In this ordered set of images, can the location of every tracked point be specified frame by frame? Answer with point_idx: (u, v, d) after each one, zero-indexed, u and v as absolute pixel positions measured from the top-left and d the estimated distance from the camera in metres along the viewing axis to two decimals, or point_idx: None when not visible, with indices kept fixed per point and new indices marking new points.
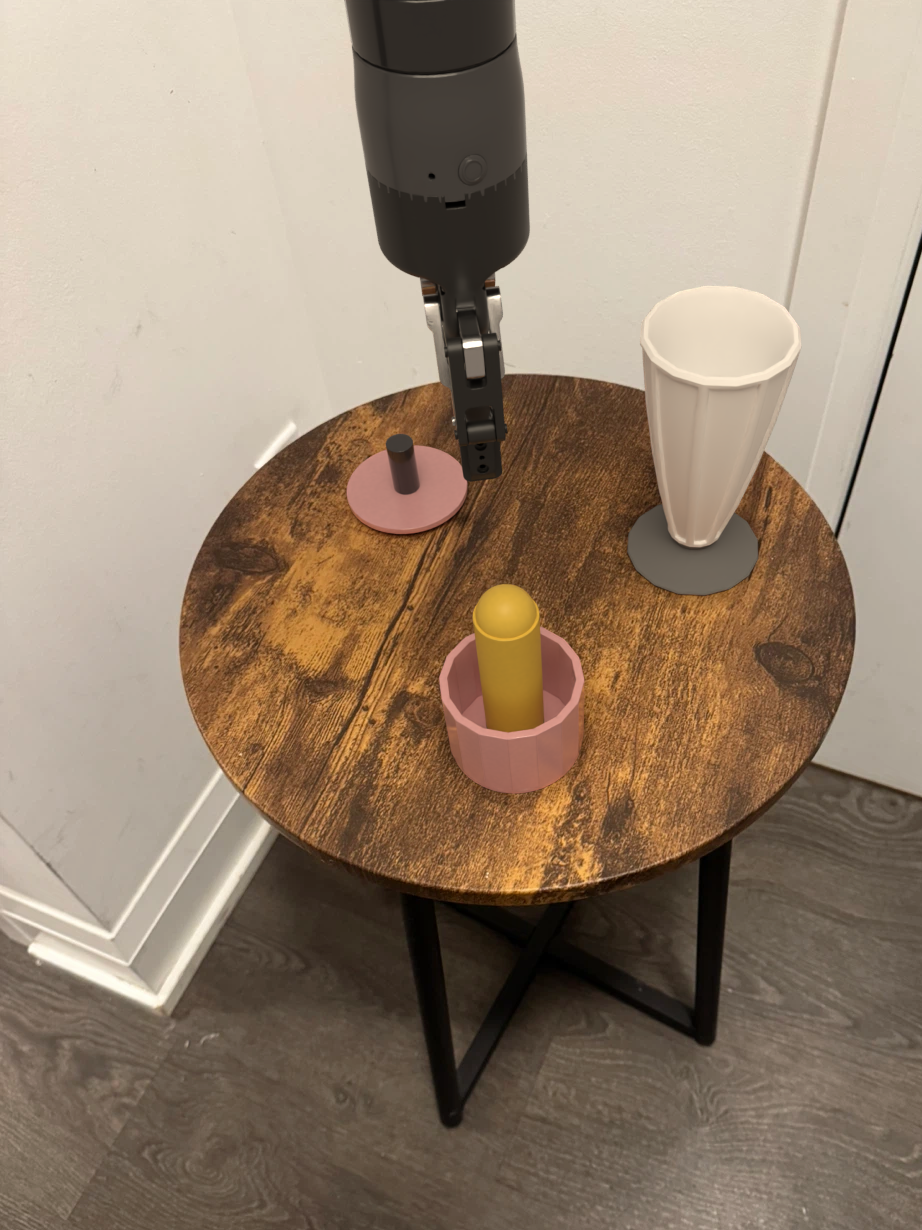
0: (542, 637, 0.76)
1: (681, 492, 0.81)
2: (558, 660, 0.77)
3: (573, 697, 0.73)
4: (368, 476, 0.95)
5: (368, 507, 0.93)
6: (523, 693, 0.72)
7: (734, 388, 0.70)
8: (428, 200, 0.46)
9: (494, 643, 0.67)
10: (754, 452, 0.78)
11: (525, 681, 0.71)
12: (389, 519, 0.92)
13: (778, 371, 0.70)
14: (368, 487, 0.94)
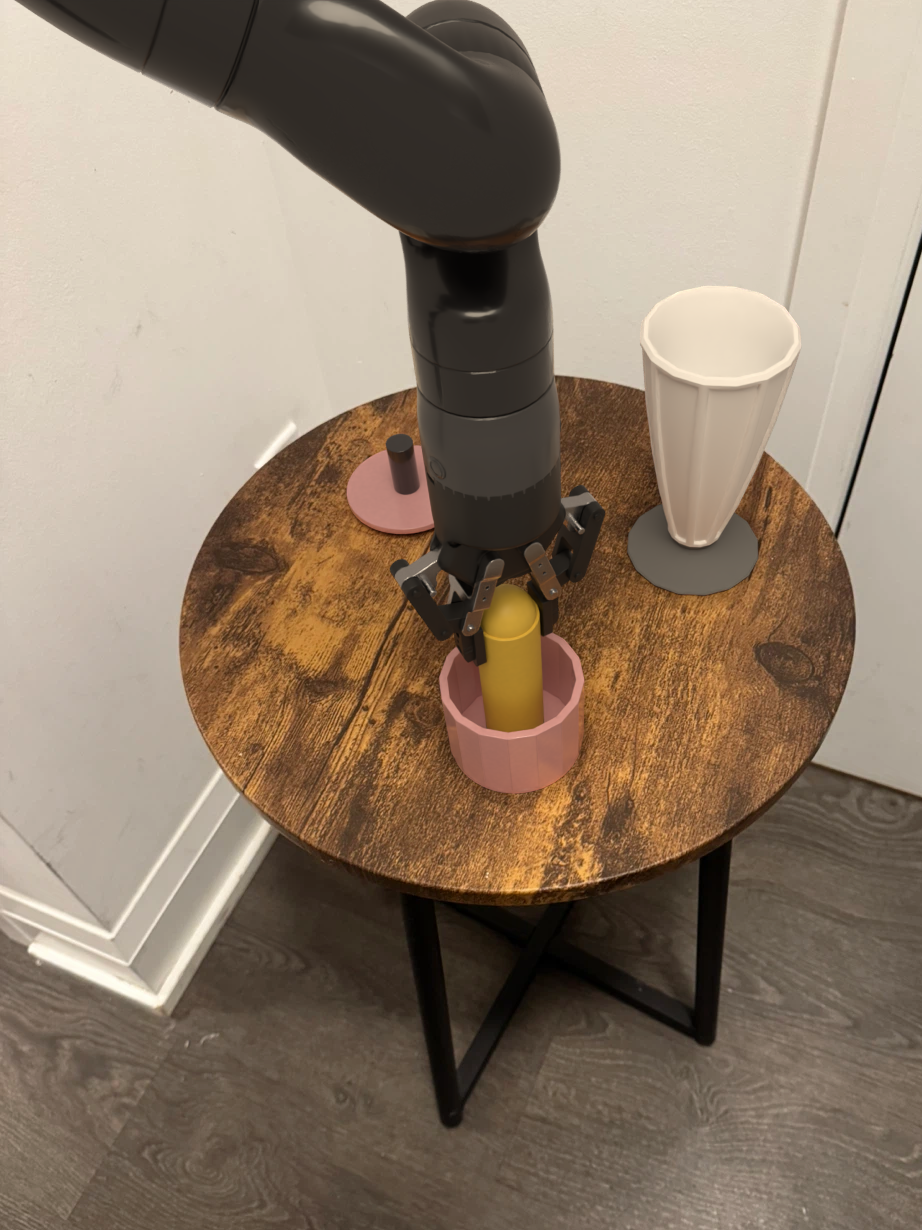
0: (542, 637, 0.76)
1: (681, 492, 0.81)
2: (558, 660, 0.77)
3: (573, 697, 0.73)
4: (368, 476, 0.95)
5: (368, 507, 0.93)
6: (523, 693, 0.72)
7: (734, 388, 0.70)
8: None
9: (494, 643, 0.67)
10: (754, 452, 0.78)
11: (525, 681, 0.71)
12: (389, 519, 0.92)
13: (778, 371, 0.70)
14: (368, 487, 0.94)
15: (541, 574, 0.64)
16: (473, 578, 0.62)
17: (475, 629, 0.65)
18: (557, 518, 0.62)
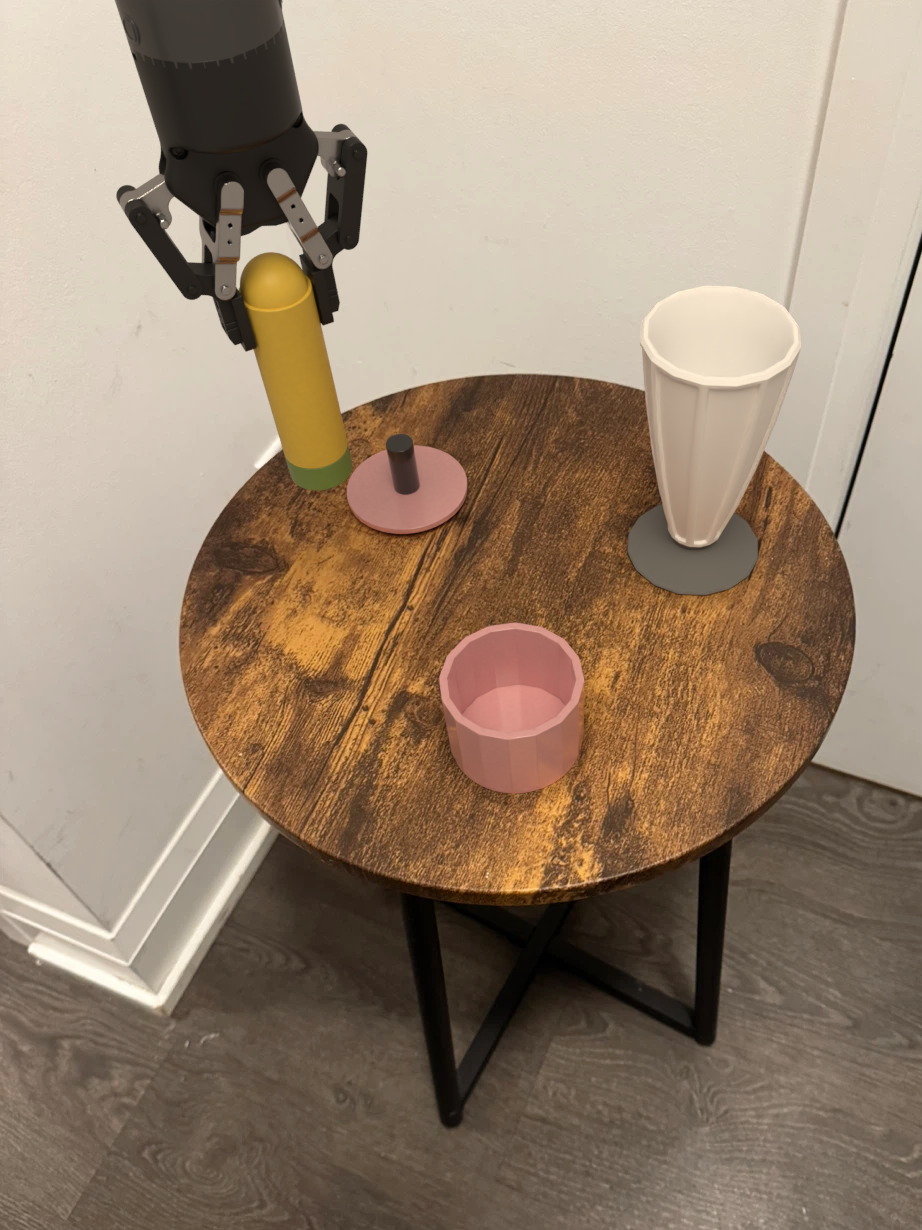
0: (542, 637, 0.76)
1: (681, 492, 0.81)
2: (558, 660, 0.77)
3: (573, 697, 0.73)
4: (368, 476, 0.95)
5: (368, 507, 0.93)
6: (307, 395, 0.65)
7: (734, 388, 0.70)
8: None
9: (258, 316, 0.61)
10: (754, 452, 0.78)
11: (306, 376, 0.64)
12: (389, 519, 0.92)
13: (778, 371, 0.70)
14: (368, 487, 0.94)
15: (298, 222, 0.58)
16: (213, 213, 0.56)
17: (230, 290, 0.59)
18: (306, 145, 0.55)
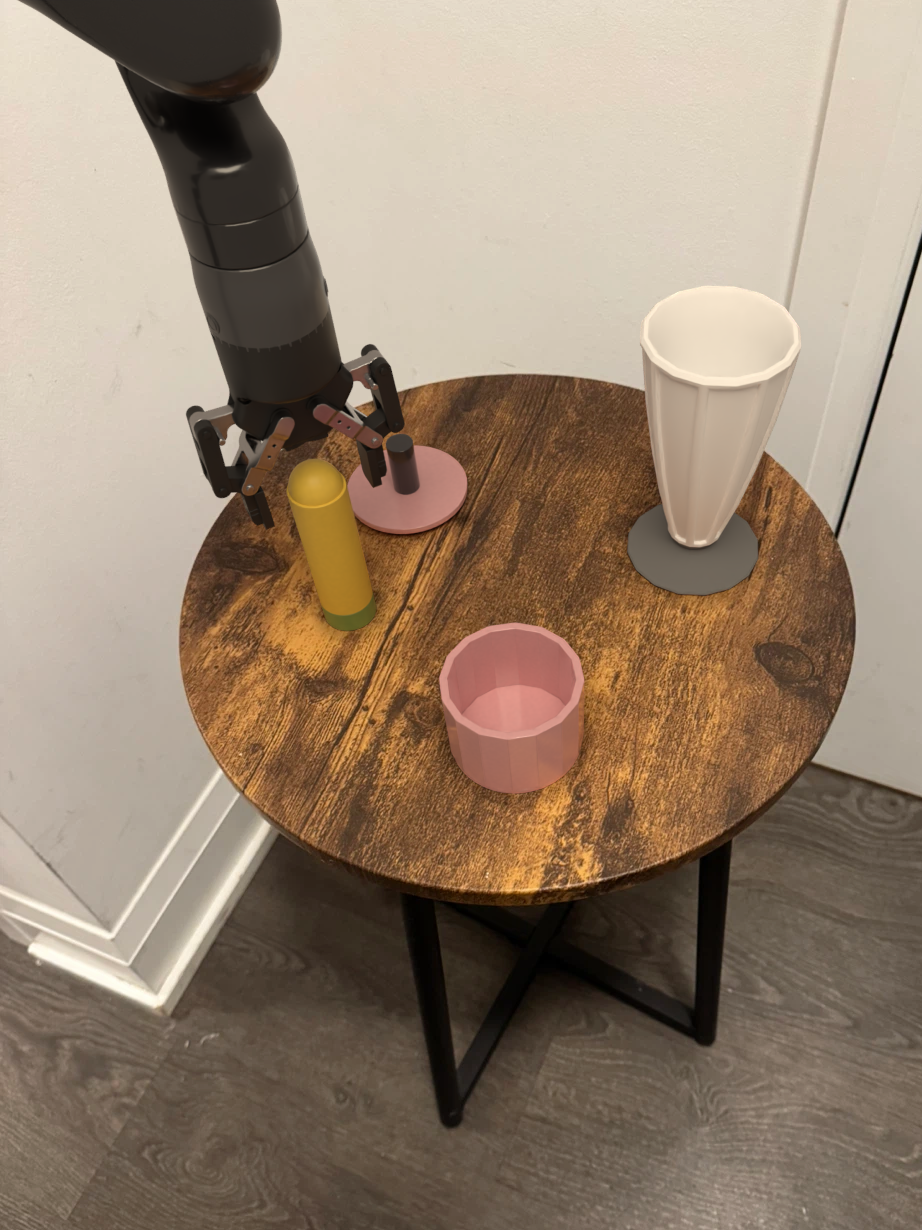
0: (542, 637, 0.76)
1: (681, 492, 0.81)
2: (558, 660, 0.77)
3: (573, 697, 0.73)
4: None
5: (368, 507, 0.93)
6: (341, 564, 0.80)
7: (734, 388, 0.70)
8: None
9: (304, 511, 0.75)
10: (754, 452, 0.78)
11: (340, 551, 0.79)
12: (389, 519, 0.92)
13: (778, 371, 0.70)
14: (368, 487, 0.94)
15: (347, 429, 0.71)
16: None
17: (254, 490, 0.72)
18: (343, 383, 0.69)
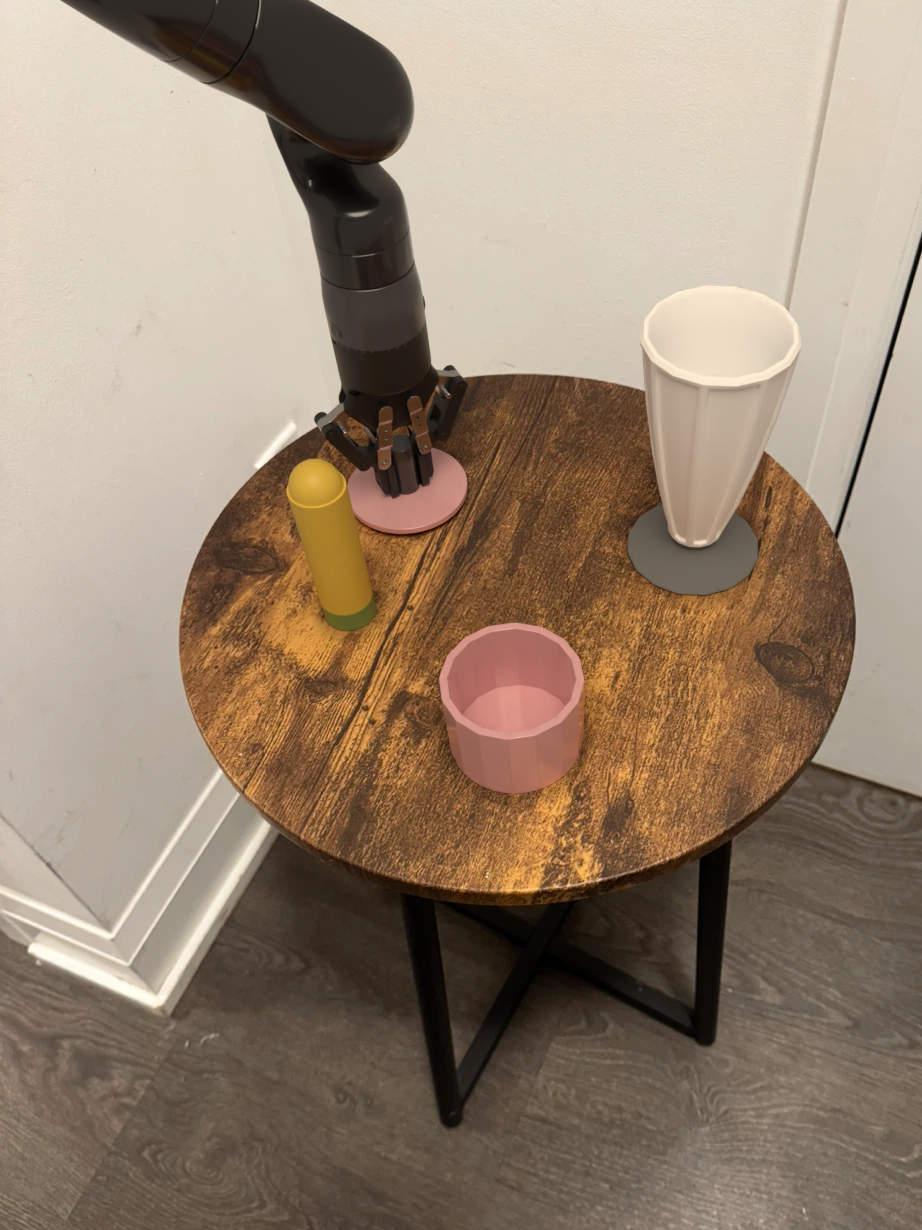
0: (542, 637, 0.76)
1: (681, 492, 0.81)
2: (558, 660, 0.77)
3: (573, 697, 0.73)
4: (368, 476, 0.95)
5: (368, 507, 0.93)
6: (341, 564, 0.80)
7: (734, 388, 0.70)
8: None
9: (304, 511, 0.75)
10: (754, 452, 0.78)
11: (340, 551, 0.79)
12: (389, 519, 0.92)
13: (778, 371, 0.70)
14: (368, 487, 0.94)
15: (418, 426, 0.88)
16: (371, 423, 0.86)
17: (387, 463, 0.89)
18: (431, 379, 0.85)
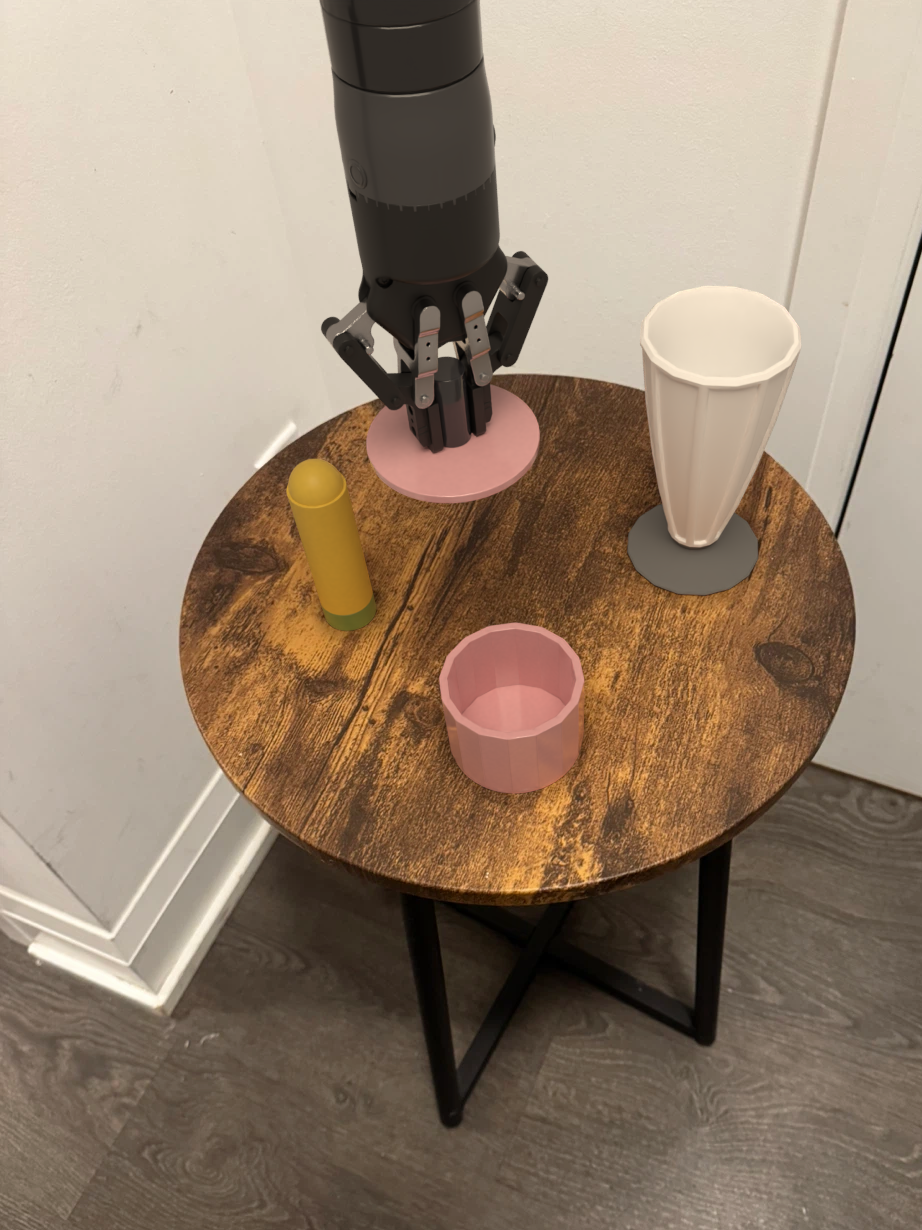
0: (542, 637, 0.76)
1: (681, 492, 0.81)
2: (558, 660, 0.77)
3: (573, 697, 0.73)
4: (397, 423, 0.66)
5: (398, 466, 0.64)
6: (341, 564, 0.80)
7: (734, 388, 0.70)
8: None
9: (304, 511, 0.75)
10: (754, 452, 0.78)
11: (340, 551, 0.79)
12: (430, 482, 0.63)
13: (778, 371, 0.70)
14: (397, 438, 0.65)
15: (476, 341, 0.59)
16: (407, 334, 0.57)
17: (429, 399, 0.61)
18: (498, 267, 0.57)
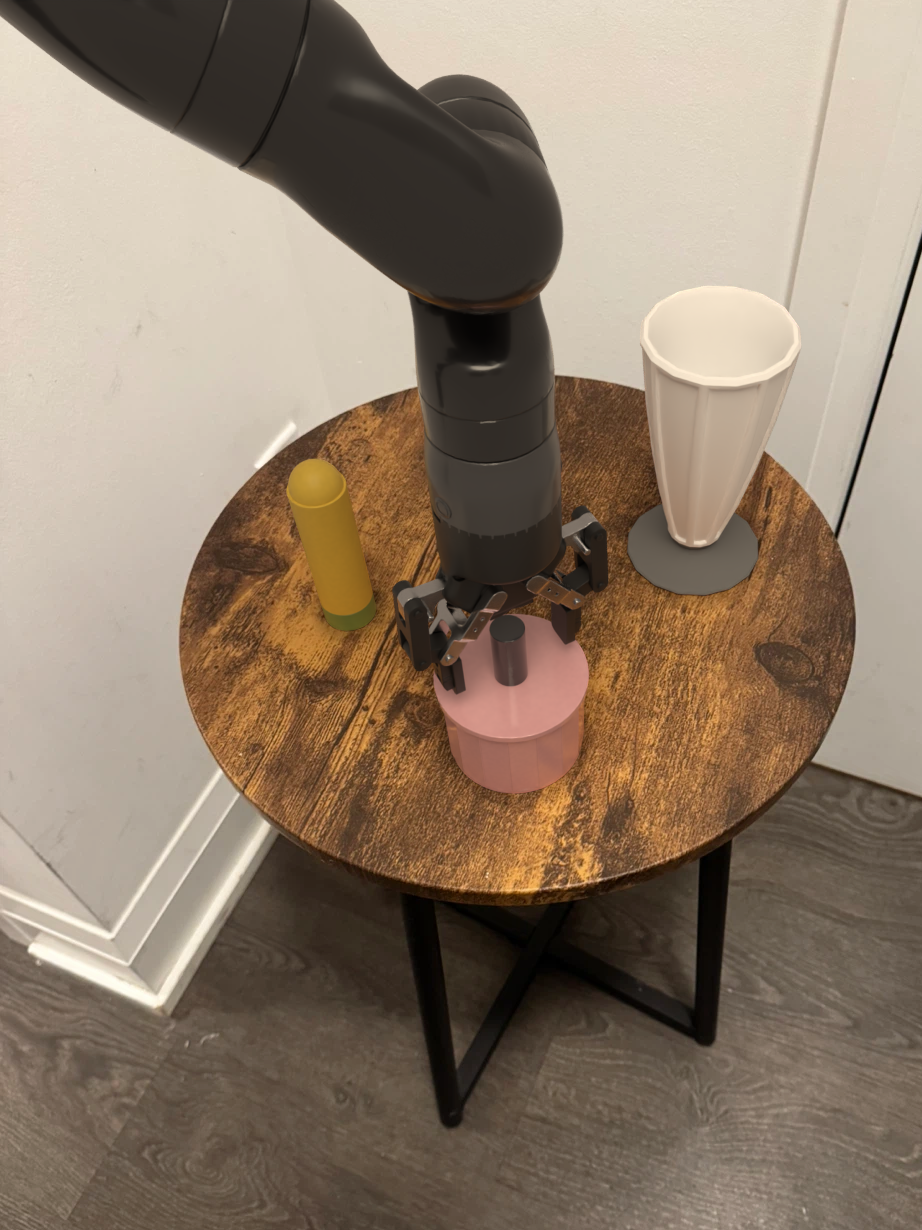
0: None
1: (681, 492, 0.81)
2: None
3: None
4: None
5: (463, 705, 0.72)
6: (341, 564, 0.80)
7: (734, 388, 0.70)
8: (430, 500, 0.59)
9: (304, 511, 0.75)
10: (754, 452, 0.78)
11: (340, 551, 0.79)
12: (492, 723, 0.71)
13: (778, 371, 0.70)
14: None
15: (554, 595, 0.66)
16: None
17: (453, 660, 0.66)
18: (558, 552, 0.64)
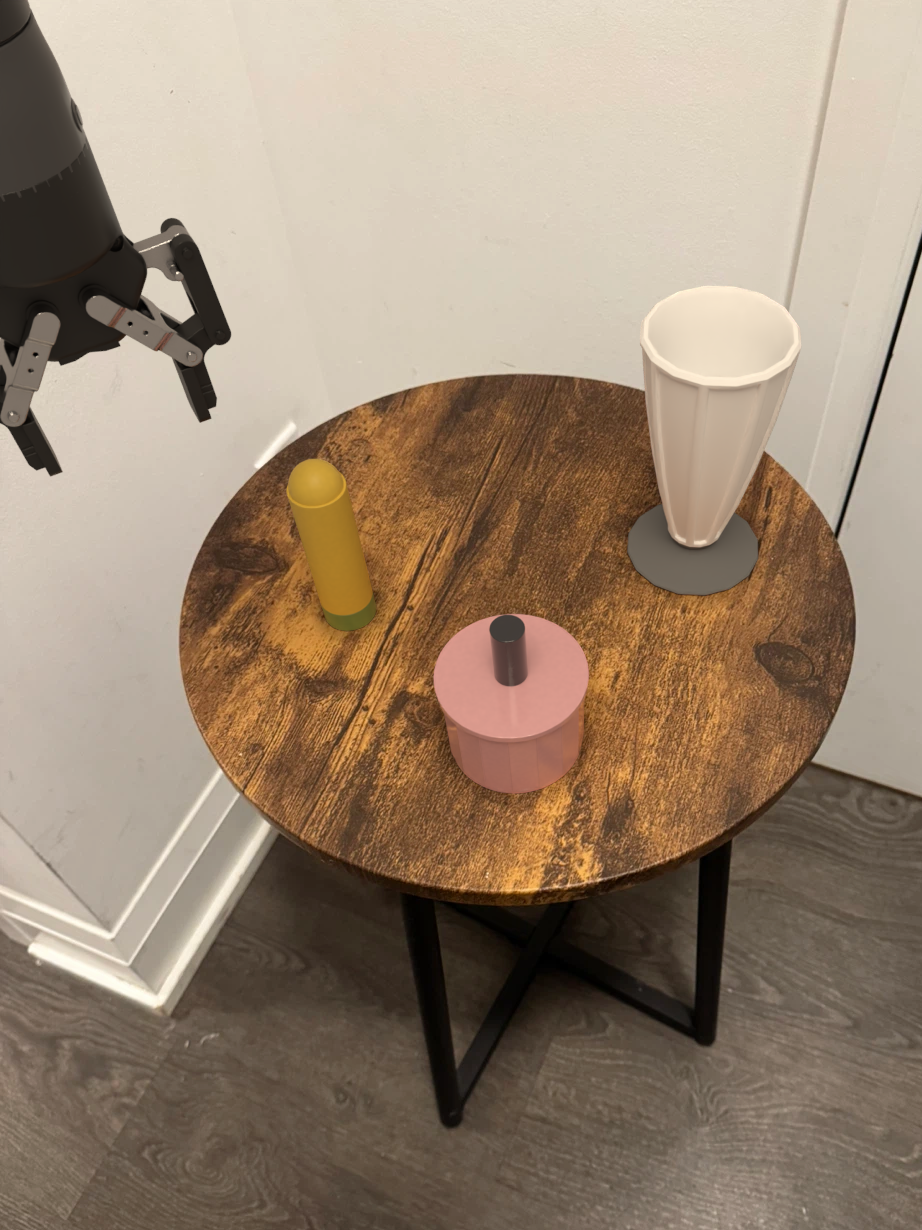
0: None
1: (681, 492, 0.81)
2: None
3: None
4: (460, 659, 0.74)
5: (463, 705, 0.72)
6: (341, 564, 0.80)
7: (734, 388, 0.70)
8: None
9: (304, 511, 0.75)
10: (754, 452, 0.78)
11: (340, 551, 0.79)
12: (492, 723, 0.71)
13: (778, 371, 0.70)
14: (461, 675, 0.73)
15: (143, 335, 0.52)
16: None
17: (19, 418, 0.53)
18: (130, 268, 0.50)
